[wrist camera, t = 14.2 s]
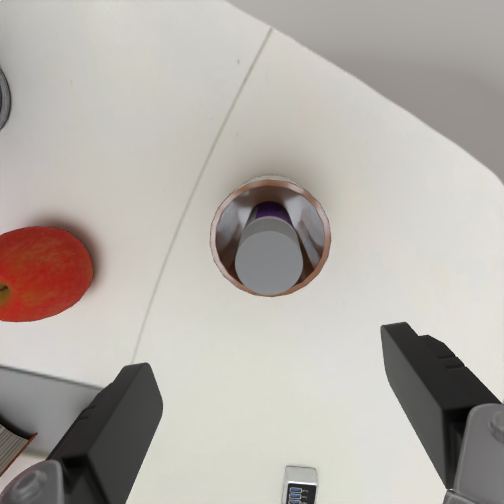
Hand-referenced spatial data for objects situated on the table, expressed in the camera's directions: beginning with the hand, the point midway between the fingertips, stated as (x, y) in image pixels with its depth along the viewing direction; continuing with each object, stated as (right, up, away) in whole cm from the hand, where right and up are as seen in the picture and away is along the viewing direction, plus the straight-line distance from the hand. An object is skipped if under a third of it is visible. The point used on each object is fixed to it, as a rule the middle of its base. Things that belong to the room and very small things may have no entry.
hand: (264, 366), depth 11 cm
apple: (-24, +3, +28) cm, 37 cm away
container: (+2, +7, +24) cm, 25 cm away
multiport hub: (+7, -33, +36) cm, 49 cm away
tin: (+2, +8, +25) cm, 26 cm away
